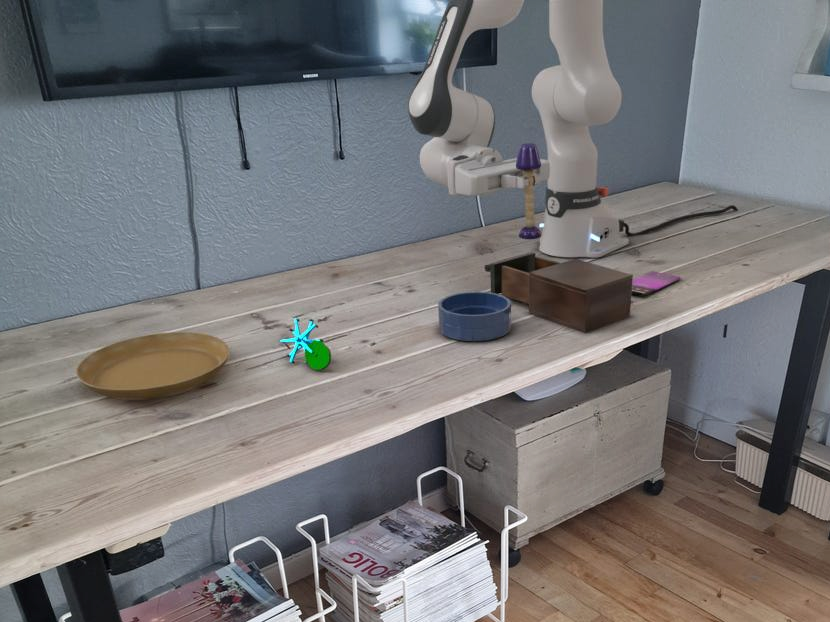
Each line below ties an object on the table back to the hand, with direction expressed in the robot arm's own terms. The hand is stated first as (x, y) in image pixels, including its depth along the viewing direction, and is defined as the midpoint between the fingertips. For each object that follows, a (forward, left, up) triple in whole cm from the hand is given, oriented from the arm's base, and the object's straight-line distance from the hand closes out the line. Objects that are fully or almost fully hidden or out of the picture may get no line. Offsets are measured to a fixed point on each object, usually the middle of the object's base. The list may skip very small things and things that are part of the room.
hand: (531, 181), depth 161 cm
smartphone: (-26, +9, -24) cm, 36 cm away
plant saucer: (+69, -17, -24) cm, 75 cm away
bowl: (+17, +3, -24) cm, 29 cm away
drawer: (-3, -4, -23) cm, 23 cm away
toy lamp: (0, -1, -10) cm, 10 cm away
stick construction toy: (+46, -5, -24) cm, 52 cm away
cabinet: (-3, +11, -24) cm, 26 cm away
